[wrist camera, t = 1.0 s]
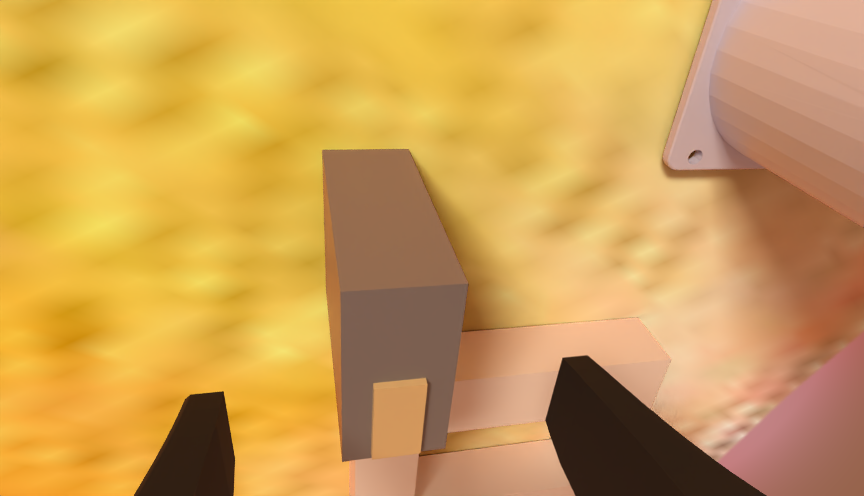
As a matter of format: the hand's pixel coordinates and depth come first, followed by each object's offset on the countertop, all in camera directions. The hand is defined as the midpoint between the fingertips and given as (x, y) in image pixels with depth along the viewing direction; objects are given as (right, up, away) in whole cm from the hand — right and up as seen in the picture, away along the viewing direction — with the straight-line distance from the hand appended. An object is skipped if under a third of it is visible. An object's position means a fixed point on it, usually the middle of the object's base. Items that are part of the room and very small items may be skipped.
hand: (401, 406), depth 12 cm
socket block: (+3, -4, +13) cm, 14 cm away
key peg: (-2, +4, +6) cm, 8 cm away
